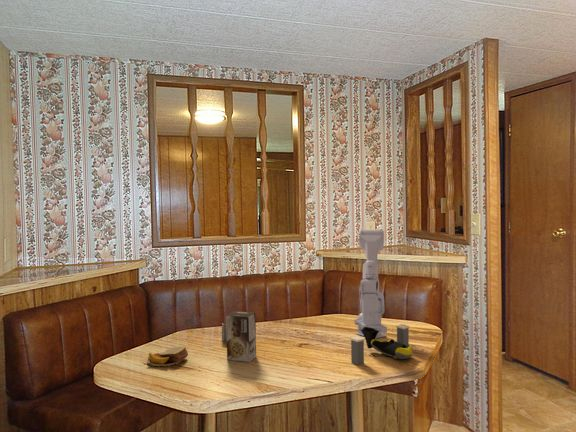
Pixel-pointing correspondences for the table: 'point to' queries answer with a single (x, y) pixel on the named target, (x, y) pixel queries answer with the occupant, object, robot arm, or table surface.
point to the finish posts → (358, 342)
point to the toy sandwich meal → (168, 357)
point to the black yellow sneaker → (392, 348)
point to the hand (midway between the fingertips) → (370, 347)
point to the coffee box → (241, 336)
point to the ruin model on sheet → (224, 333)
